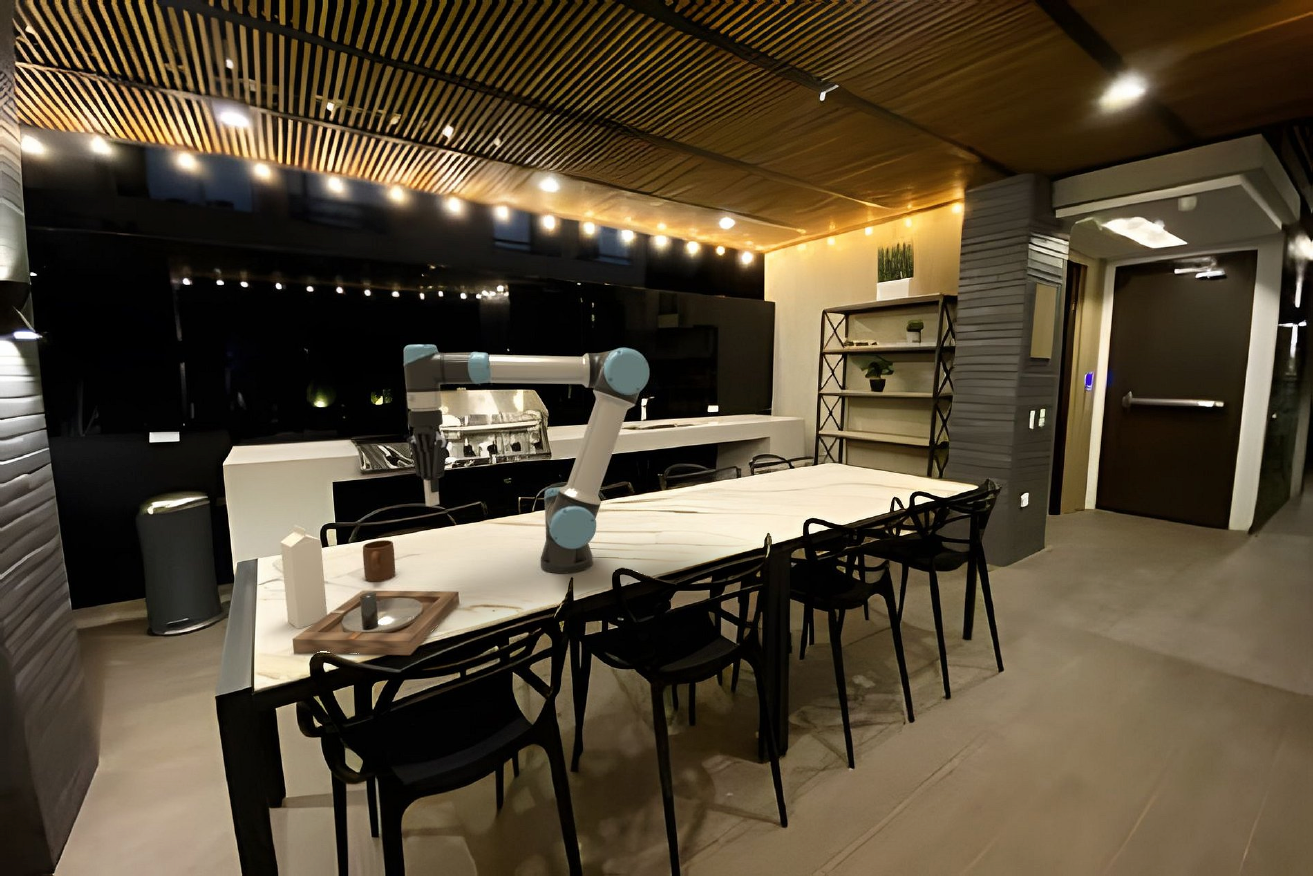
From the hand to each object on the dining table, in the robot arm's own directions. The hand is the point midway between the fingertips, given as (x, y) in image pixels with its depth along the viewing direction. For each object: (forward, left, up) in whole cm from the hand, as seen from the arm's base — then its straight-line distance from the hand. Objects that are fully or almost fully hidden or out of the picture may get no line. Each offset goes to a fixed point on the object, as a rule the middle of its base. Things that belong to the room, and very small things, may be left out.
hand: (432, 504), depth 131 cm
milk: (+24, +14, -24) cm, 37 cm away
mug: (+21, -10, -24) cm, 33 cm away
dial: (+5, +16, -22) cm, 27 cm away
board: (+5, +16, -24) cm, 29 cm away
